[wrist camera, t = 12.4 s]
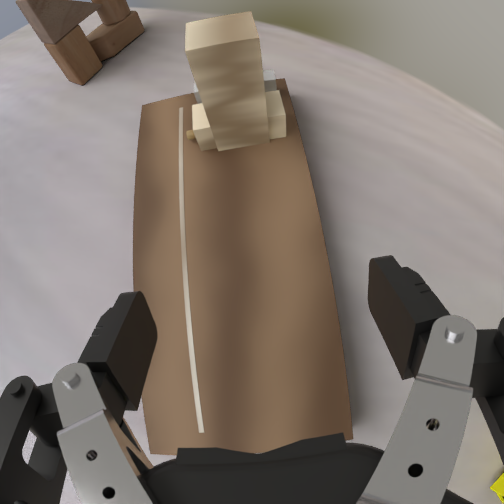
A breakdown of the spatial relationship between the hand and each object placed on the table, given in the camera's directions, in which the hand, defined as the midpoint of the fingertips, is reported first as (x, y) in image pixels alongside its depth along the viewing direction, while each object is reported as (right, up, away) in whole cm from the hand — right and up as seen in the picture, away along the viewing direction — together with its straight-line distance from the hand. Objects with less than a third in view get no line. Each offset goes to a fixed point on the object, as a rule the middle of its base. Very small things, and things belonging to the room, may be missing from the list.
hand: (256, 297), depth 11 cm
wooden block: (-18, +25, +20) cm, 37 cm away
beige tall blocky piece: (-1, +10, +11) cm, 15 cm away
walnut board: (-2, +2, +11) cm, 11 cm away
